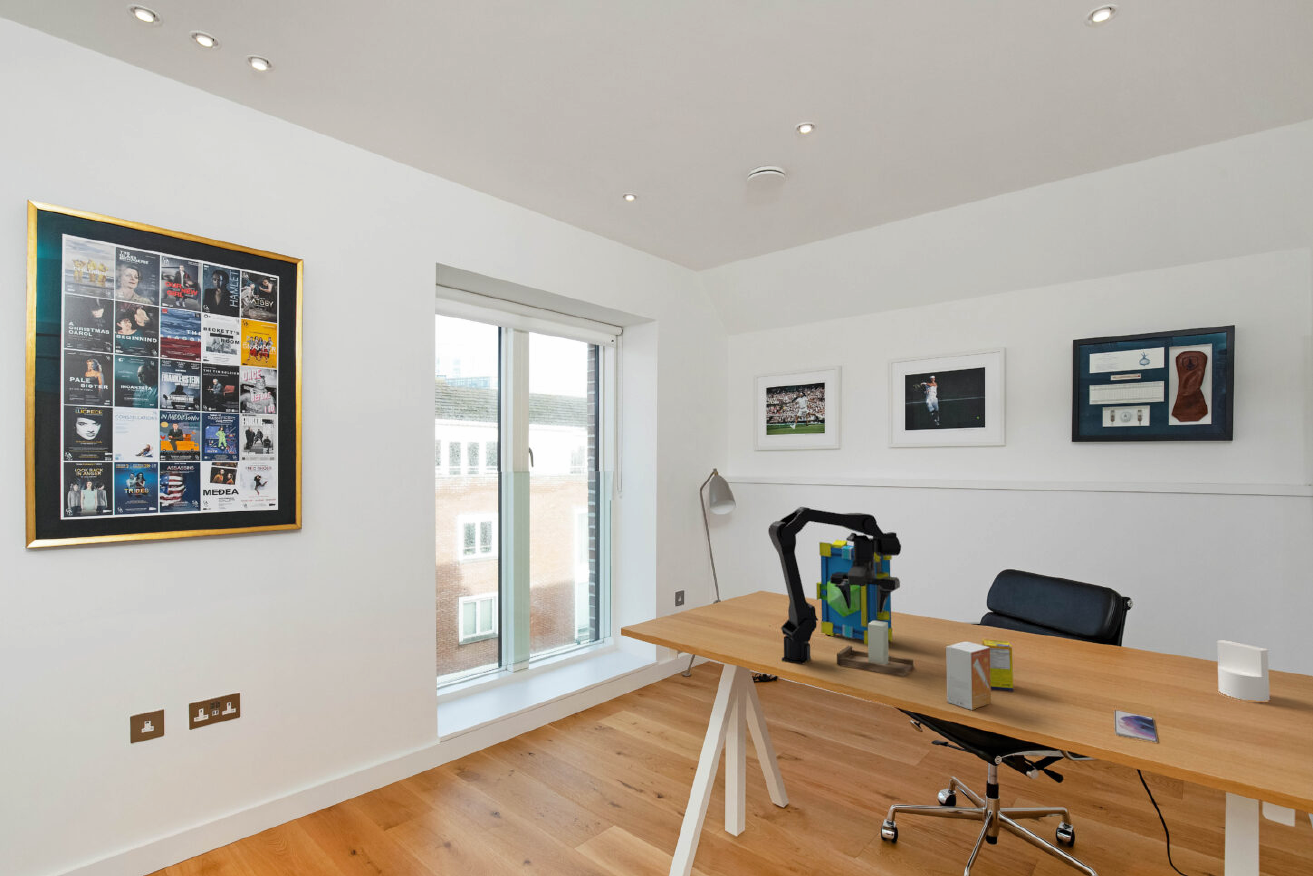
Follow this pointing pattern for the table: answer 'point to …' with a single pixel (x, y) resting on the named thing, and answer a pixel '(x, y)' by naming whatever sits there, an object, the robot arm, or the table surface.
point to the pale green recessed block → (878, 642)
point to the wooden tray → (861, 662)
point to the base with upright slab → (1243, 671)
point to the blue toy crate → (862, 597)
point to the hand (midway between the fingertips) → (864, 610)
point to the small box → (968, 675)
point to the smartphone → (1134, 726)
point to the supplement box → (1000, 664)
